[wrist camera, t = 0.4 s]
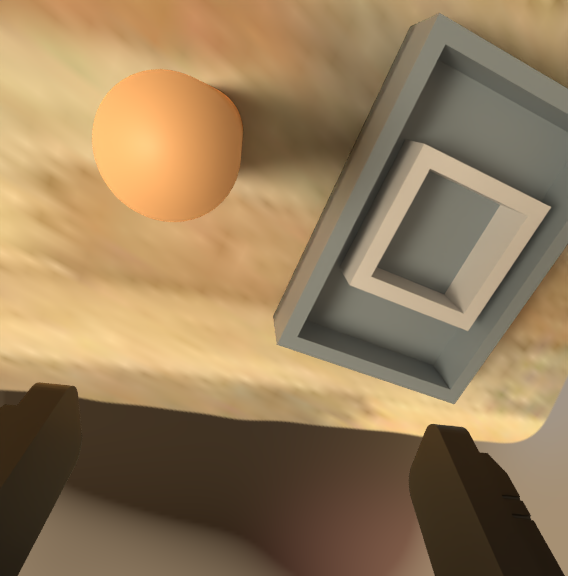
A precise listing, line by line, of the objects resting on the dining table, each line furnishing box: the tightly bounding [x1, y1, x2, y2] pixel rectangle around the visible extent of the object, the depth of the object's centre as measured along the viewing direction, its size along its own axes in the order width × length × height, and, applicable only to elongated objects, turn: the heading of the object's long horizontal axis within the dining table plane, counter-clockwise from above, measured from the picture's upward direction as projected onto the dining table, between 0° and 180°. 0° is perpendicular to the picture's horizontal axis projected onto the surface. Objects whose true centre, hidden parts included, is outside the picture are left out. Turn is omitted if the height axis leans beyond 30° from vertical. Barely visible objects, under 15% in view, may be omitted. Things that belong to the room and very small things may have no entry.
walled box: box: [273, 13, 568, 404], centre depth 27 cm, size 20×14×4 cm
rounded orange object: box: [92, 69, 243, 222], centre depth 20 cm, size 5×5×12 cm
